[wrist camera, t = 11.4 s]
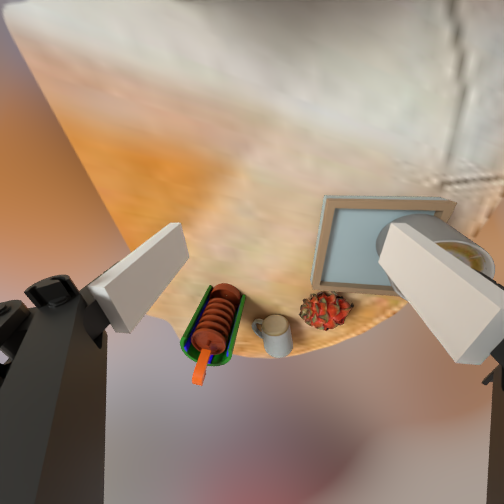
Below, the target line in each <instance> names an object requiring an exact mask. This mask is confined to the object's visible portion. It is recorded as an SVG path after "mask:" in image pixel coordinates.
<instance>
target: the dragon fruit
mask: <svg viewBox="0 0 504 504" xmlns="http://www.w3.org/2000/svg"><path fill="white" fill-rule="evenodd" d="M331 292H332V293H333V294H331V295H330V296H328V297H327V296H326V295H325V293H324V292H320V293H318V294H317V295H316V294H311V295H310V296H311V297H312V295H313V297H312V298H311V300H309V299H303V302H304V304H303V305H301V307H300V310H301V312H300V314H299V315H300V317H301V318H302V319H303V320H305V322H306V323H307V324H308V325H310V326H315V328H317V329H321V330H325V331H327V330H328V329H334V328H336V327H337V325H342V324H344V321H345V318H346V317H347V315H348V313H349V312H350V311H351V309H352V307H354V305H353V303H352V304H351V305H350V304H349V302H347V301H345V299H344V298H343V297H342V296H341V297H339V296H337V295H338V294H337V293H335V291H331ZM320 294H321V296H320V297H318V296H319V295H320ZM336 296H337V297H336ZM336 298H342V299H336Z"/></svg>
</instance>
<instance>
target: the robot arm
mask: <svg viewBox="0 0 504 504" xmlns="http://www.w3.org/2000/svg"><path fill="white" fill-rule="evenodd" d="M188 259H189V253H188V249H187V245H186V241H185V238H184V234H183V230H182V226H181V223H169V224H168V225H167V226H166V227H164V228H163V229H162V230H160V231H159V232H158V233H156V234H155V235H154V236H152V237H151V238H150V239H148V240H147V241H146V242H145V243H143V244H142V245H141V246H139V247H138V248H137V249H135V250H134V251H133V252H131V253H130V254H129V255H128V256H126V257H125V258H124V259H122V260H121V261H119V262H117V263H116V264H114V265H113V266H112V267H111V268H109V269H108V270H106V271H105V272H104V273H103V274H101V275H100V276H98V277H97V278H96V279H95V280H93V281H92V282H90V283H89V284H88V285H87V286H85V287H84V288H83V289H81V290H80V291H79V290H78V289H77V287H76V286H75V284H74V283H73V281H72V280H71V278H70V277H69V276H68V275H57V276H52V277H49V278H46V279H43V280H41V281H39V282H37V283H35V284H33V285H32V286H30V287H29V288H27V289H26V290H25V292H24V293H25V294H26V295H27V297H28V298H29V299H30V300H31V301H32V302H33V304H34V305H35V306H36V307H34V308H27V307H26V305H24V303H23V302H22V301H21V300H11V301H7V302H2V303H0V350H1V351H2V352H3V353H4V354H5V355H7V356H8V357H9V359H8V360H7V361H6V362H5V363H4V364H1V363H0V504H103V503H104V502H103V501H104V461H105V459H104V458H105V419H106V377H107V375H106V374H107V333H106V331H105V328H106V327H107V326H108V325H109V324H111V325H112V327H113V329H114V330H115V332H119V333H131V332H132V331H133V330H134V328H135V327H136V326H137V324H138V323H139V322H140V320H141V319H142V318H143V317H144V315H145V314H146V313H147V312H148V310H149V309H150V308H151V306H152V305H153V304H154V302H155V301H156V300H157V299H158V297H159V296H160V295H161V293H162V292H163V291H164V290H165V288H166V287H167V286H168V284H169V283H170V282H171V281H172V279H173V278H174V277H175V275H176V274H177V273H178V271H179V270H180V269H181V268H182V266H183V265H184V264H185V262H186V261H187V260H188ZM378 263H379V264H380V265H381V267H382V268H383V269H384V271H385V272H386V273H387V274H388V276H389V277H390V278H391V280H392V281H393V282H394V283H395V285H396V286H397V287H398V289H399V290H400V291H401V293H402V294H403V295H404V296H405V298H406V299H407V300H408V302H409V303H410V304H411V305H412V307H413V308H414V309H415V311H416V312H417V313H418V315H419V316H420V317H421V318H422V319H423V321H424V322H425V324H426V325H427V326H428V327H429V329H430V330H431V331H432V333H433V334H434V335H435V336H436V338H437V339H438V340H439V342H440V343H441V344H442V346H443V347H444V348H445V349H446V351H447V352H448V353H449V355H450V356H451V357H452V359H454V361H455V362H456V363H463V364H475V365H481V364H482V363H483V362H484V360H485V359H486V358H487V357H488V356H489V355H490V354H491V355H492V356H493V357H494V359H495V360H496V361H497V362H498V363H499V365H498V366H497V367H496V368H495V369H494V370H493V371H492V372H491V373H490V374H489V375H488V376H487V377H486V378H484V380H483V381H482V383H483V384H484V385H487V384H488V383H489V382H493V392H492V393H493V394H492V413H491V430H490V447H489V467H488V484H487V503H486V504H504V287H503V286H502V285H500V284H497V283H496V281H494V280H493V279H491V278H490V277H488V276H487V275H485V274H484V273H482V272H479V271H477V270H475V269H473V268H471V267H469V266H467V265H466V264H465V263H463V262H462V261H460V260H459V259H457V258H456V257H454V256H453V255H451V254H450V253H449V252H447V251H446V250H444V249H443V248H441V247H440V246H438V245H437V244H436V243H434V242H433V241H431V240H430V239H428V238H427V237H425V236H424V235H422V234H421V233H420V232H418V231H417V230H415V229H414V228H412V227H411V226H409V225H408V224H406V223H391V225H390V228H389V231H388V234H387V237H386V240H385V243H384V246H383V249H382V252H381V255H380V258H379V261H378Z"/></svg>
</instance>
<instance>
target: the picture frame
mask: <svg viewBox="0 0 504 504" xmlns="http://www.w3.org/2000/svg"><path fill="white" fill-rule="evenodd" d="M456 204H457V203H456V202H453V201H450V200H447V199H444V198H441V197H392V196H327V195H324V200H323V206H322V212H321V218H320V224H319V230H318V236H317V242H316V248H315V254H314V260H313V266H312V272H311V279H310V280H311V285H312V289H313V290H322V291H335V292H349V293H362V294H375V295H389V296H399V295H398V294H397V293H396V292H395V291H394V289H393V287H392V286H391V284H390V281H389V279H388V277H387V274H386V272H385V271H384V269H383V268H382V267H381V265H380V264H379V263H378V261H379V256H378V253H377V251H376V240H377V237H378V235H379V233H380V232H381V230H382V229H383V228H384V227H385V226H386V225H387V224H389V223H390V222H392V221H393V220H395V219H397V218H399V217H402V216H406V215H410V214H428V215H432V216H435V217H437V218H439V219H441V220H442V221H444V222H445V223H447V222H448V220H449V218H450V216H451V214H452V212H453V210H454V208H455V206H456Z"/></svg>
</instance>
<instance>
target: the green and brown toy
mask: <svg viewBox="0 0 504 504" xmlns="http://www.w3.org/2000/svg"><path fill="white" fill-rule="evenodd" d="M211 287H212V286H211V285H209V287H208V289H207V291H206V293H205V295H204V297H203V298H202V300H201V302H200V304H199V306H198V308H197V310H196V312H195V314H194V316H193V317H192V319H191V321H190V323H189V325H188V327H187V329H186V331H185V333H184V334H183V336H182V338H181V341H180V346H181V349H182V351H183V352H184V353H185V355H186V356H188V357H189V358H190V359H192V360H193V361H195V362H197V364H196V367H195V370H194V373H193V377H192V383H193V384H196V385H201V386H202V384H203V381H204V378H205V375H206V367H207V366H220V365H224V364H226V363H227V362H228V361H229V360H230V359H231V357H232V353H233V349H234V344H235V340H236V336H237V332H238V328H239V324H240V320H241V315H242V311H243V307H244V303H245V295H243V296H242V298H241V295H240V292H239V291H238V289H237V288H236V287H234V286H232V285H230V284H225V283H222V284H218V285H216V286H215V287H214V288H213V290H212V292H211V294H210V289H211ZM225 295H227V296H225ZM240 299H241V301H240ZM239 303H240V305H239Z"/></svg>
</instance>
